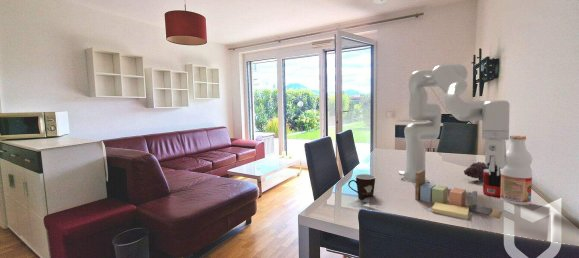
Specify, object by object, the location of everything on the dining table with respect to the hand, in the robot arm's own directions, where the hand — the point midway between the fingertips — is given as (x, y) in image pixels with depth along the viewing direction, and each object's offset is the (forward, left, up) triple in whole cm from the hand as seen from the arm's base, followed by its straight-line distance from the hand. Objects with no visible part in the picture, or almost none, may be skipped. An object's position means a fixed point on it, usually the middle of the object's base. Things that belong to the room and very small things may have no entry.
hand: (494, 185), depth 93 cm
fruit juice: (+4, +21, -12) cm, 25 cm away
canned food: (-4, +29, -12) cm, 32 cm away
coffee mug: (-46, -13, -12) cm, 49 cm away
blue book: (-22, 0, -10) cm, 24 cm away
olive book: (-18, 0, -10) cm, 21 cm away
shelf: (-12, 0, -12) cm, 17 cm away
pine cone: (-13, +51, -12) cm, 54 cm away
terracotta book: (-11, 0, -10) cm, 15 cm away
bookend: (-4, 0, -10) cm, 11 cm away
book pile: (-12, -8, -12) cm, 19 cm away
